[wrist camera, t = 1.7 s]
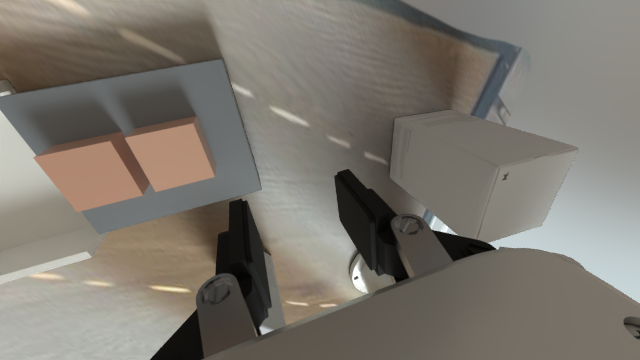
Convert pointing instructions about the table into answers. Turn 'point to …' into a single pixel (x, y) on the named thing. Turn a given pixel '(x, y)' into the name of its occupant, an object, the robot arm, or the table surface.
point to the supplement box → (478, 172)
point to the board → (139, 111)
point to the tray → (35, 213)
